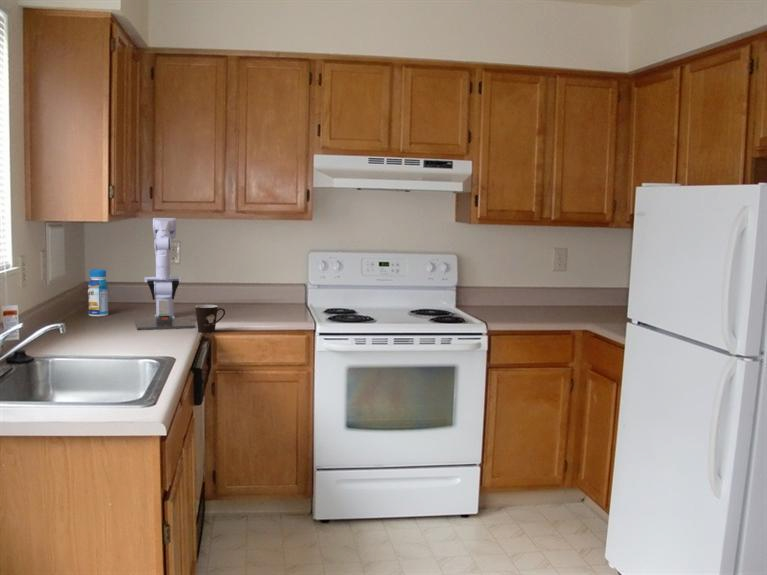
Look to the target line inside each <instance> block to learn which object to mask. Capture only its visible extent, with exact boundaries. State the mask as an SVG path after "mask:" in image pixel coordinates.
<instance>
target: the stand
mask: <svg viewBox="0 0 767 575" xmlns="http://www.w3.org/2000/svg"><path fill="white" fill-rule="evenodd" d="M133 320H134V325H135V328H136V330H137V331H150V330H151V331H152V330H154V331H155V330H182V329H195V328H196V326H195V324H194V323H193V321H192V319H190V318H189V317H175V318H172V316H171V315H169V316H156V318H140V319H139V318H137V319H133Z"/></svg>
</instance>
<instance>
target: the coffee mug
mask: <svg viewBox="0 0 767 575" xmlns="http://www.w3.org/2000/svg"><path fill="white" fill-rule="evenodd" d="M194 308H195V315H196V323H197V332H198V333H202V334H203V333H204V334H207V333H208V334H209V333H210V334H212V333H215V332H216V325H217V323H218V322H220V321H221V320H222V319H223V318H224V316H225V315H226V311H225V308H222V307H218V305H216V304H198V305H197V304H196V305H195V306H194ZM219 311H223V313H222V316H221V317H220V318H219V319H217V317H218V312H219Z"/></svg>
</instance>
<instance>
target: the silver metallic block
mask: <svg viewBox="0 0 767 575" xmlns="http://www.w3.org/2000/svg"><path fill="white" fill-rule="evenodd" d="M159 316H169V300H159Z"/></svg>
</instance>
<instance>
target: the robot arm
mask: <svg viewBox="0 0 767 575" xmlns="http://www.w3.org/2000/svg"><path fill="white" fill-rule="evenodd" d="M152 230H153V237H154V240H153V241H154V243H153V245H154V246H153V247H154V253H155V276H144V283H147V286H148V288H149V291H150V293H151V298H152V299H151V300H153V301H154V300H155V309H156V311H155V313H156V314H154V315H153V316H154V317H155V318H154V319H156V316H159V300H169V315H171V316H172V318H176V316H175V314H174V300H175V297H176V296H177V289H178V287H179V285H180V282H182V276H173V275H171V251H172V240H174V239H175V238H176V235H177V219H176V217H153V218H152Z"/></svg>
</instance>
